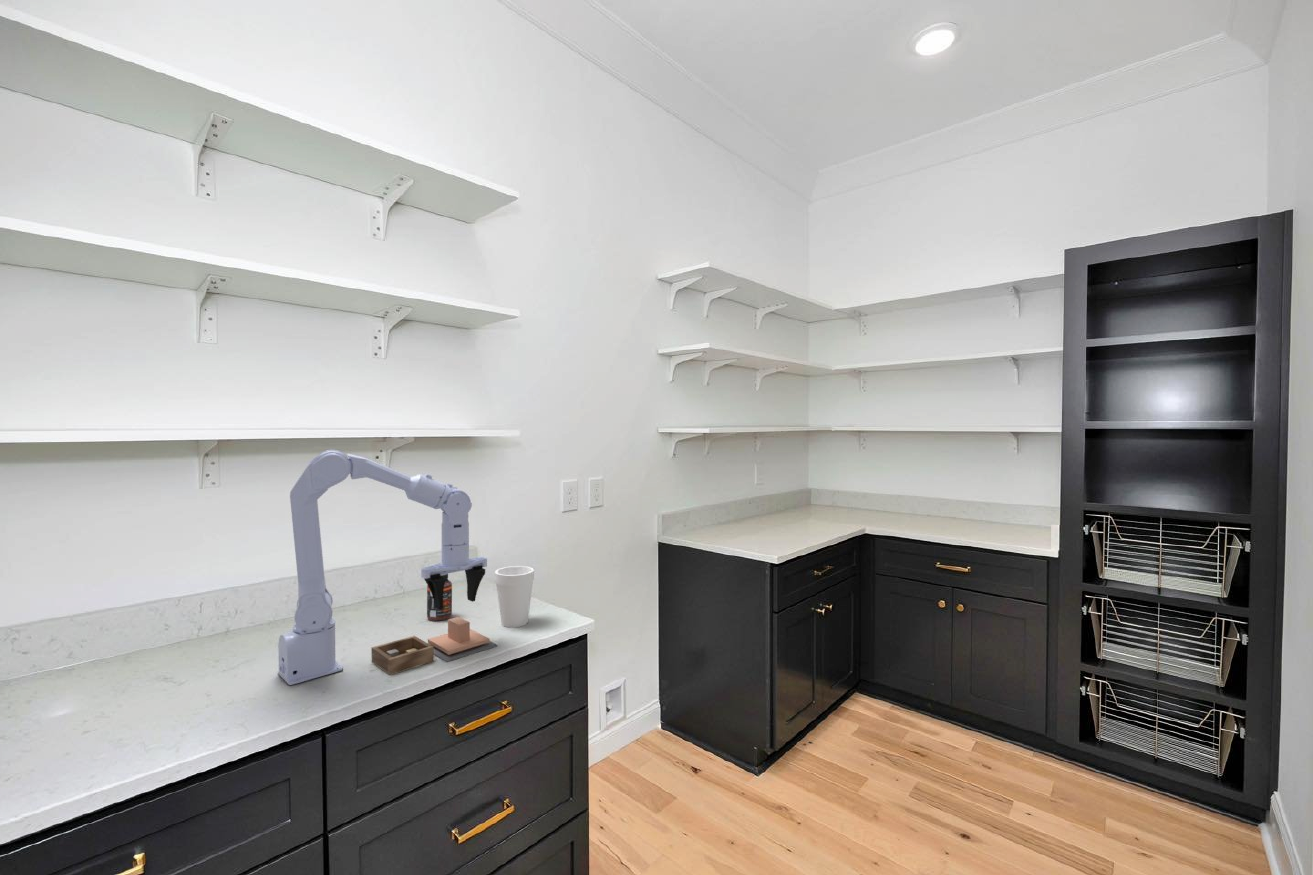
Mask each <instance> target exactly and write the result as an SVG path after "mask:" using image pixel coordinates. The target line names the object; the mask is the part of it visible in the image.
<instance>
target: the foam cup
mask: <svg viewBox="0 0 1313 875" xmlns="http://www.w3.org/2000/svg"><path fill="white" fill-rule="evenodd" d="M534 580H535V569H534V568H533V567H531V566H524V565H514V566H513V565H512V566H505V567H501V568H497V569H496V570H494V583H495V584H496V591H497V599H498V600H497V601H498V608H499V614H500V622H501V625H502V626H503V627H505V628H518V627H519V628H520V627H522V626H525V625H526V623H527V622H528V620H529V614H530V607H531V600H532V593H533V584H534ZM528 623H529V622H528ZM528 623H527V624H528Z"/></svg>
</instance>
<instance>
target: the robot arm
mask: <svg viewBox="0 0 1313 875" xmlns="http://www.w3.org/2000/svg"><path fill="white" fill-rule="evenodd" d="M349 475H350V478H351V480H358V479H364V478H368V479H371V480H374V481H377V482H379V483H382V484H385V485H389V486H391V487H394V488H397V489H399V490H403V491H404V492H405V496H406V498H407V499H408V500H411V501H413V502H416V503H419V504H421V505H424V506H427V507H429V508H431V509H434V510H441V511H442V512H441V513H442V516H441V518H442V519H441V520H442V521H441V562H440V563H436V564H433V565H430V566H427V567H421V568H420V569H421V573H420V574H421V578H423V580H424V581H425V583H426V584H427V585H428V586H429V589H430V591H431V593H432V596H433V599H434V603H435V608H437V609H439V610H440V609H443V590H444V584H445V579H442V576H440V575H442V574H447V573H448V574H450V573H451V574H453V573H457V572H462V571H464V573H465V578H466V596H467V597H466V598H467V600H468V601H469V602H473V603H474V602H475V601H476V598H477V594H478V590H479V588H480V584H481V581H482V580H483V578H484V576H485V575H486V568H487V567H488V558H487V557H484V556H479V557H472V558H471V557H470V524H469V513H470V511H471V509H472V506H473V503H472V502H471V498H470V496H469V495H468V493H466V492H465V491H464V490H461V489H459V488H458V487H455V486H454V485H453V484H452V483H450V482H448V483H444V482H442V481H438V480H436V479H433V475H431V474H428V473H425V474H422V473H420V474H419V473H417V474H416V475H413V476H409V475H407V474H405V473H402V472H400V471H398V470H395V469H393V468H390V467H388V466H386V465H383V464H381V463H378V462H376V461H374V460H372V459H369V458H367V457H363V456H359V455H357V454H356V455H355V454H351V453H347V454H345V453H344V452H342V451H340V450H339V449H338V450H337V449H328V450H324V451H322V452H321V453H320V454H318V455H316V457H315V458H313V459H312V460H310V461H309V463H308V464H307V466H306V467H305V469H304V470H303V472H302V473H301V475H300V476H299V478H298V480H296V482H295V484H294V485H293V487H291V488H292V489H291V490H290V493H289V500H290V509H291V510H290V511H291V520H292V521H291V523H292V532H293V542H294V552H295V560H296V561H295V563H296V572H297V585H298V589H297V590H298V591H297V592H298V595H297V596H298V599H297V602H296V610H295V613H294V622H295V623H294V625H293V627H292V628H293V629H292V630H291V631H288V632H286V633H282V634H280V635H279V638H278V671H277V674H278V675H279V676H280V677H281V678H282V679H283V680H284V681H285V682H286V684H288V685H289V686H292V685H296V684H299V683H300V684H301V683H302V682H305V681H310V680H313V679H317V678H321V677H323V676H324V677H325V676H326V675H327V676H328V675H331V674H333V673H334V674H335V673H337V672H341V671H343V670H344V667H343V666H342V665H341V664H339V663H338V662H337V660H336V658H337V656H336V619H333V608H332V607H333V597H332V594H331V593H330V592H329V591H328V588H327V585H326V576H325V568H324V556H323V548H322V547H323V546H322V537H321V527H320V526H321V525H320V516H319V515H320V514H319V504H318V500H319V499H320V498H321V497H322V496H323V495H324V494H325V493H326V492H327V491H328V490H329V489H330V488H332V487H334V486H335V485H338V484H340V483H341V482H344V480H346V479H347V478H348V476H349Z"/></svg>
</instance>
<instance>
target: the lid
mask: <svg viewBox="0 0 1313 875" xmlns="http://www.w3.org/2000/svg"><path fill="white" fill-rule="evenodd" d="M470 623H471V622H470V621H468V620H465V619H464V618H462V617H460V616H456V617H453V618H448V619H447V633H445V634H441V635H438V636H434V637H430V638H427V643H429V644H431V645H433V646H435V647H436V648H438V649H440V650H441V651H443V652H445V653H447V654H448V655H450V654H453V653H456V652H459V651H463V650H466V649H469V648H472V647H476V646H479V645H482V644H485V643H489V642H490V641H491V639H490V638H489V637H487V636H486V635H483V634H482V633H479V632H477V631H475V630H473V629H471V628H470V627H471V625H470Z"/></svg>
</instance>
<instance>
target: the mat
mask: <svg viewBox="0 0 1313 875" xmlns="http://www.w3.org/2000/svg"><path fill="white" fill-rule="evenodd" d="M427 643H428V642H427ZM428 644H429V643H428ZM430 645H431V644H430ZM431 646H433V645H431ZM433 647H434V657H437V658H438V659H440V660H441V661H444V662H445V663H449V662H451V661H455V660H458V659H459V660H460V659H461V658H464V657H467V656H470V655H473V654H478V653H480V652H484V651H487V650H490V649H492V648H493V649H494V648H496V647H498V644H497V643H495V642H493V641H491V640H490V642H489V643H485V644H482V645H479V646H476V647H472V648H469V649H466V650H463V651H459V652H456V653H453V654H450V655H448V654H447V653H445V652H443V651H441V650H440V649H438V648H436V647H435V646H433Z"/></svg>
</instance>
